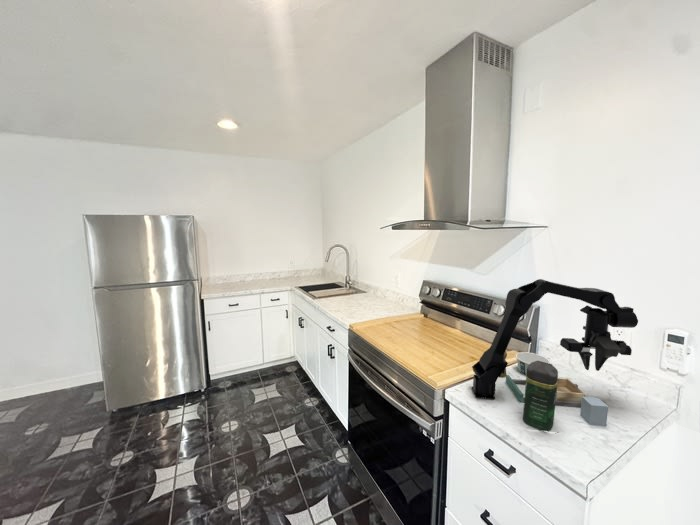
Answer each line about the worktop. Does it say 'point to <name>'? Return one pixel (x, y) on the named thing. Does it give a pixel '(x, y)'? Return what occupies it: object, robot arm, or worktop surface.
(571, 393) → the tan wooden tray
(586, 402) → the block
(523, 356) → the food container
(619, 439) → the worktop surface
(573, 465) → the worktop surface
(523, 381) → the bay
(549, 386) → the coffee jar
